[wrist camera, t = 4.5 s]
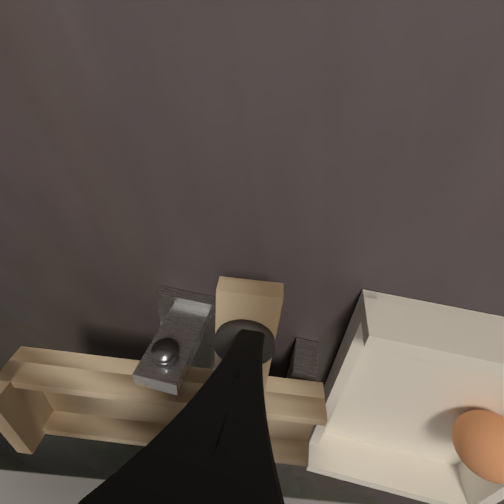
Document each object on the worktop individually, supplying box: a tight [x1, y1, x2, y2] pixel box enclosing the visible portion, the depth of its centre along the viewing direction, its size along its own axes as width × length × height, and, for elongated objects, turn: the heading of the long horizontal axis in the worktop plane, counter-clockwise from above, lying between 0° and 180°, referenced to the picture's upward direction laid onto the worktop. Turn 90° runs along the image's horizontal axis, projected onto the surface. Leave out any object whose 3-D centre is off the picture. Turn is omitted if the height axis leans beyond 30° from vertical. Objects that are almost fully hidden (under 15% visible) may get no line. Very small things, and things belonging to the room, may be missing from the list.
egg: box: [452, 410, 504, 484], centre depth 15 cm, size 3×3×3 cm
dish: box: [306, 289, 504, 504], centre depth 16 cm, size 10×13×3 cm
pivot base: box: [132, 286, 318, 395], centre depth 17 cm, size 9×8×5 cm
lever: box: [0, 276, 328, 466], centre depth 13 cm, size 15×11×3 cm
